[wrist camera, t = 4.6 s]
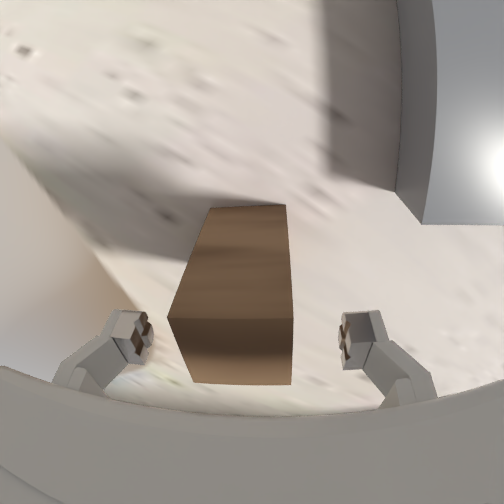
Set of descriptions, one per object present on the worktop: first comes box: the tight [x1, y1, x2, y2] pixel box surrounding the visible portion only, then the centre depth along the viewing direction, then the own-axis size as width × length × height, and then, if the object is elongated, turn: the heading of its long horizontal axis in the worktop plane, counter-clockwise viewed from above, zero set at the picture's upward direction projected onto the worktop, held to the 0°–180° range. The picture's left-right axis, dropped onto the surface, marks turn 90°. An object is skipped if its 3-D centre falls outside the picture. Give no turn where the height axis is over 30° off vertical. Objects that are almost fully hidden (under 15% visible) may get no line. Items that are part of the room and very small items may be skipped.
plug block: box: [167, 205, 293, 385], centre depth 15 cm, size 4×4×9 cm
